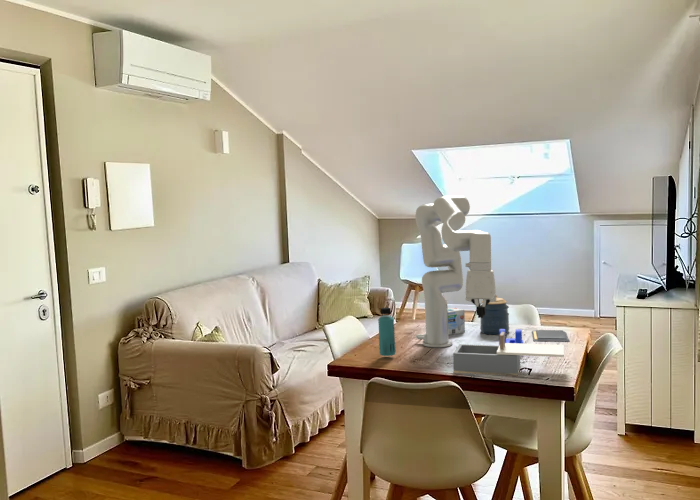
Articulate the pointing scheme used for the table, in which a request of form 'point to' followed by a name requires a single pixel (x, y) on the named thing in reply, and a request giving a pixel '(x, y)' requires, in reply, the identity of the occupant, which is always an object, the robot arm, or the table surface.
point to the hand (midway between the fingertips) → (480, 317)
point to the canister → (495, 317)
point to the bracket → (512, 340)
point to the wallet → (550, 336)
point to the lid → (529, 349)
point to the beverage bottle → (386, 333)
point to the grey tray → (484, 360)
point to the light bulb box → (456, 321)
